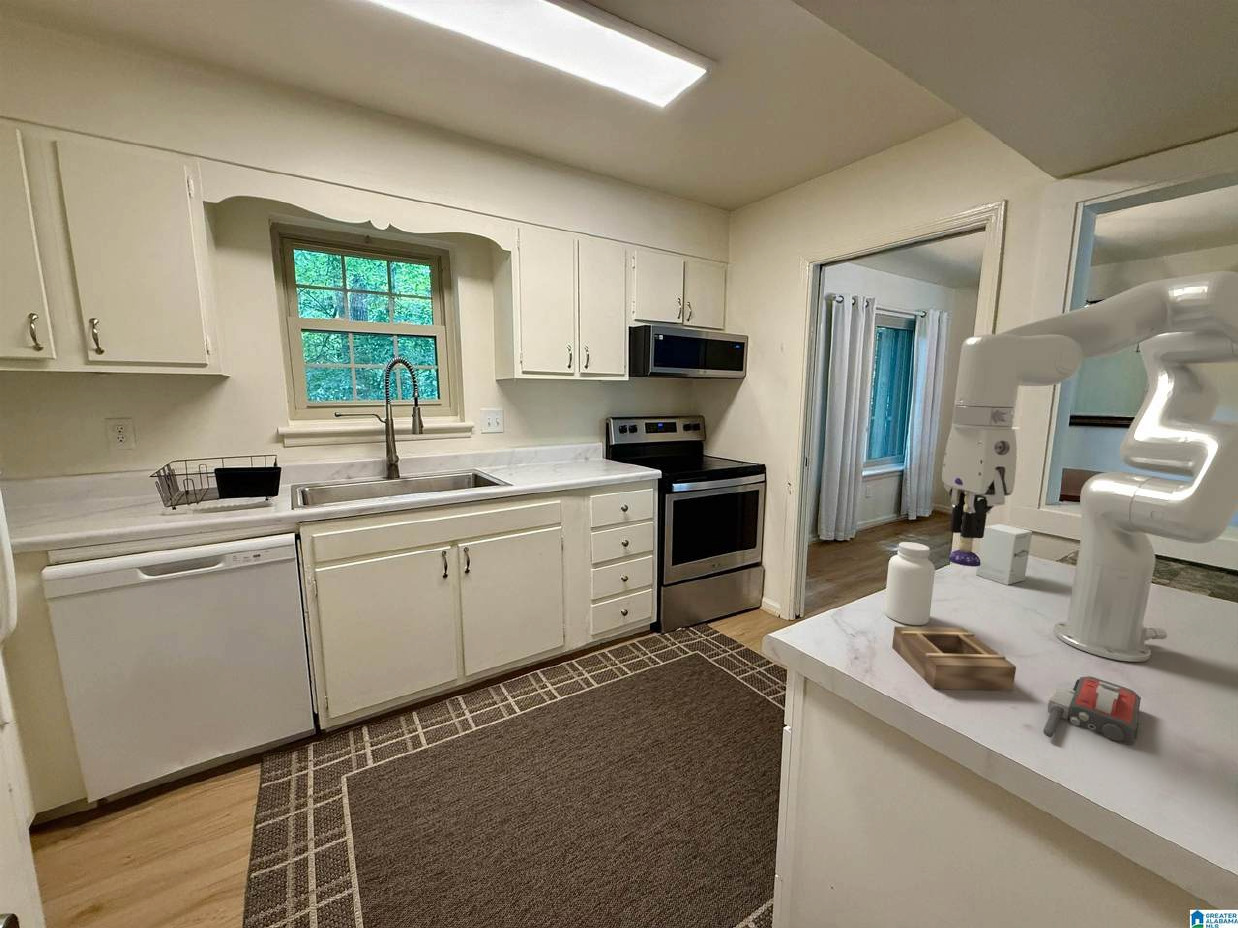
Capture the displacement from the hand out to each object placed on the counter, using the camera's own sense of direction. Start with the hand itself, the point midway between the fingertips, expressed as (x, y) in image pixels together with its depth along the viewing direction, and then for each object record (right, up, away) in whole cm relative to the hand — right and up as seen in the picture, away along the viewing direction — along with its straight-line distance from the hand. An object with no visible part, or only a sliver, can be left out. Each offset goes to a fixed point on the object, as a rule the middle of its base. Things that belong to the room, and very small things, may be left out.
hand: (966, 534), depth 77 cm
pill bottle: (+3, -20, +21) cm, 29 cm away
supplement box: (+39, -17, +43) cm, 60 cm away
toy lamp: (0, -5, 0) cm, 5 cm away
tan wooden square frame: (0, -23, +4) cm, 23 cm away
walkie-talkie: (+11, -25, -9) cm, 29 cm away
